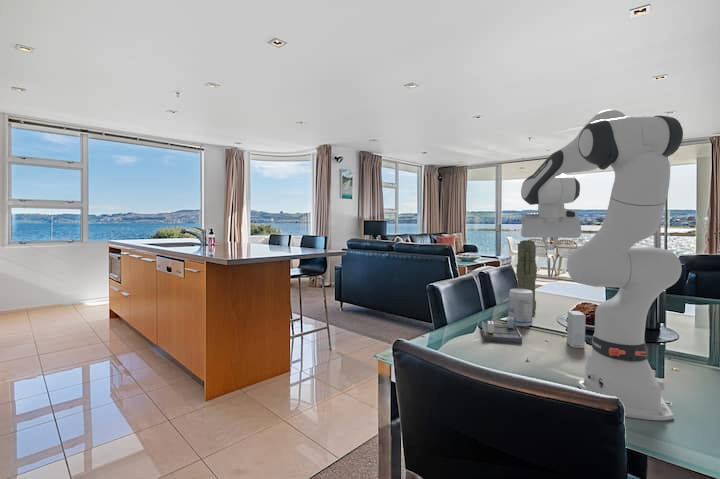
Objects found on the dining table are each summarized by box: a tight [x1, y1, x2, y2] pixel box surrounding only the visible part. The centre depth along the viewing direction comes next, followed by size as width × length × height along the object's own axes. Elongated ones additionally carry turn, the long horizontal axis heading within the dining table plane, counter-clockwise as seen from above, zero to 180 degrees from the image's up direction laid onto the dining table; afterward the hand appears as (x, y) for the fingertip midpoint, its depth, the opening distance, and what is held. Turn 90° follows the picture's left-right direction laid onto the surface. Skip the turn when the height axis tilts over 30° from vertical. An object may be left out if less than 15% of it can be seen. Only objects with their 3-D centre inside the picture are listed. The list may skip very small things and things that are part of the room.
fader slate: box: [506, 316, 514, 328], centre depth 151 cm, size 4×2×4 cm, turn 166°
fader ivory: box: [487, 320, 494, 333], centre depth 146 cm, size 4×2×4 cm, turn 166°
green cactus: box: [515, 239, 538, 317], centre depth 180 cm, size 9×12×35 cm
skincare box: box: [566, 310, 587, 349], centre depth 137 cm, size 6×4×12 cm
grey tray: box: [481, 320, 523, 345], centre depth 149 cm, size 18×13×3 cm
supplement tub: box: [507, 288, 533, 328], centre depth 163 cm, size 10×10×15 cm
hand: (549, 249), depth 142 cm, fingers closed
